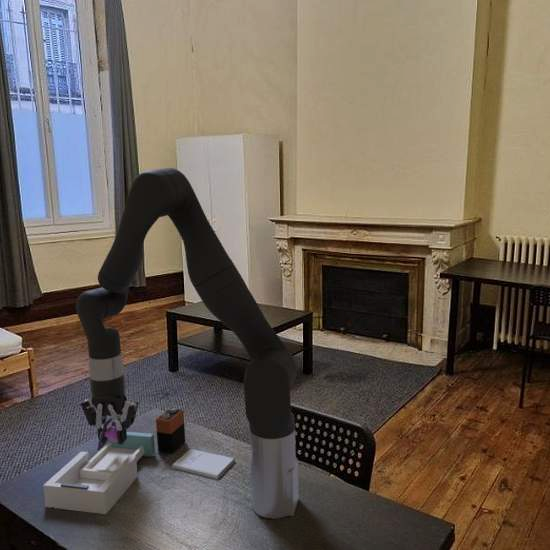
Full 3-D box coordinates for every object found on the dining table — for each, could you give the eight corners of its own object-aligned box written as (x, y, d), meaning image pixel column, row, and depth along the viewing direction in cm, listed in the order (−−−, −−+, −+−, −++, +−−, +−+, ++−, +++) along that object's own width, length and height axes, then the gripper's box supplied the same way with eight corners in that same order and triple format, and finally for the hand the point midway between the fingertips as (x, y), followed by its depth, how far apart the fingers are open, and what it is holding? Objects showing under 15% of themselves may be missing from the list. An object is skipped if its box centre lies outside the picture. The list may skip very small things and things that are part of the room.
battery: (186, 442, 135) (184, 406, 133) (172, 455, 129) (169, 417, 127) (171, 439, 137) (169, 404, 135) (157, 452, 131) (154, 415, 129)
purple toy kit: (117, 407, 127) (100, 423, 118) (137, 414, 127) (121, 431, 118) (111, 431, 129) (94, 449, 120) (130, 437, 128) (115, 456, 119)
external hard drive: (217, 481, 118) (172, 470, 123) (235, 463, 126) (191, 453, 131) (217, 475, 118) (172, 463, 123) (234, 457, 125) (191, 447, 130)
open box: (137, 476, 120) (135, 455, 119) (105, 514, 107) (103, 490, 106) (83, 470, 123) (81, 449, 122) (45, 506, 110) (42, 483, 109)
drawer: (154, 453, 129) (153, 433, 128) (127, 485, 116) (125, 464, 115) (105, 448, 132) (103, 429, 131) (72, 479, 119) (70, 458, 118)
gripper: (142, 369, 121) (147, 437, 125) (88, 366, 124) (94, 432, 128) (127, 381, 114) (133, 453, 117) (69, 377, 117) (76, 447, 120)
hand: (112, 442), depth 122 cm, fingers closed on purple toy kit, 4 cm apart
